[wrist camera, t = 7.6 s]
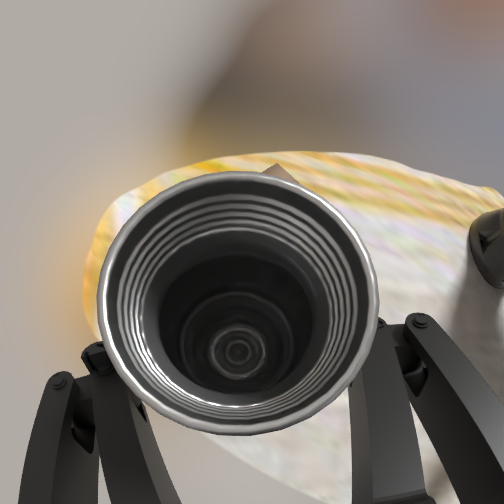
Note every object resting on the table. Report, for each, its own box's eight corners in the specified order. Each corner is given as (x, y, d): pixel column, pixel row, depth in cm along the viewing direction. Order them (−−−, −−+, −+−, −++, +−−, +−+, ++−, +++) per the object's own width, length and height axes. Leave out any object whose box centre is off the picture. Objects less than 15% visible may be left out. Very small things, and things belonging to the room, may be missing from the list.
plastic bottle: (283, 386, 21) (473, 454, 2) (198, 393, 20) (36, 494, 2) (275, 310, 23) (394, 118, 5) (193, 316, 23) (60, 135, 4)
